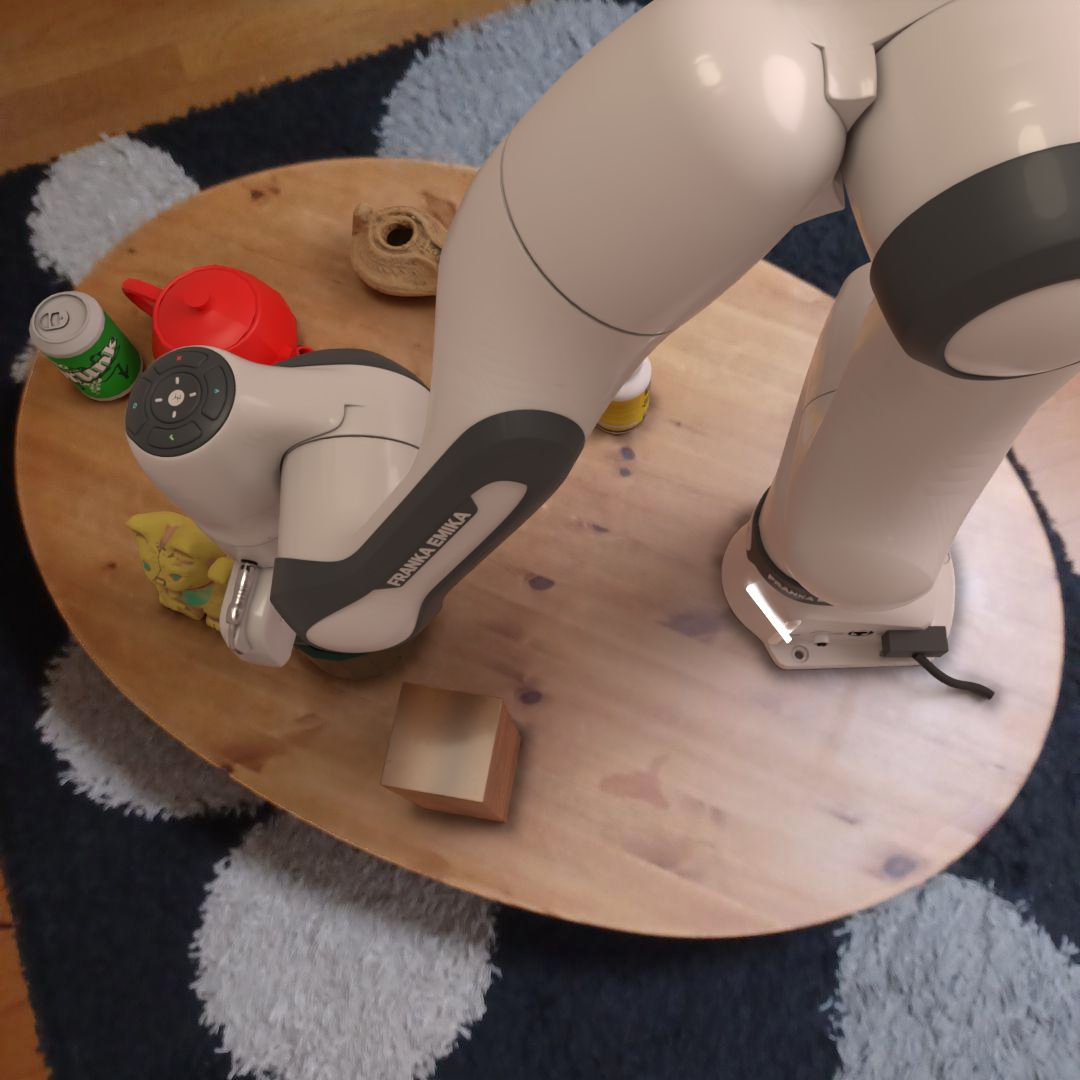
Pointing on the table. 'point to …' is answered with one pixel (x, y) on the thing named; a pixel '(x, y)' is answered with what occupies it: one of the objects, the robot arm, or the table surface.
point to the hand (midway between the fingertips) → (314, 563)
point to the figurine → (182, 564)
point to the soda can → (86, 345)
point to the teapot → (218, 314)
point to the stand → (452, 752)
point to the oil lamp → (397, 249)
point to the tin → (358, 660)
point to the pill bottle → (629, 402)
